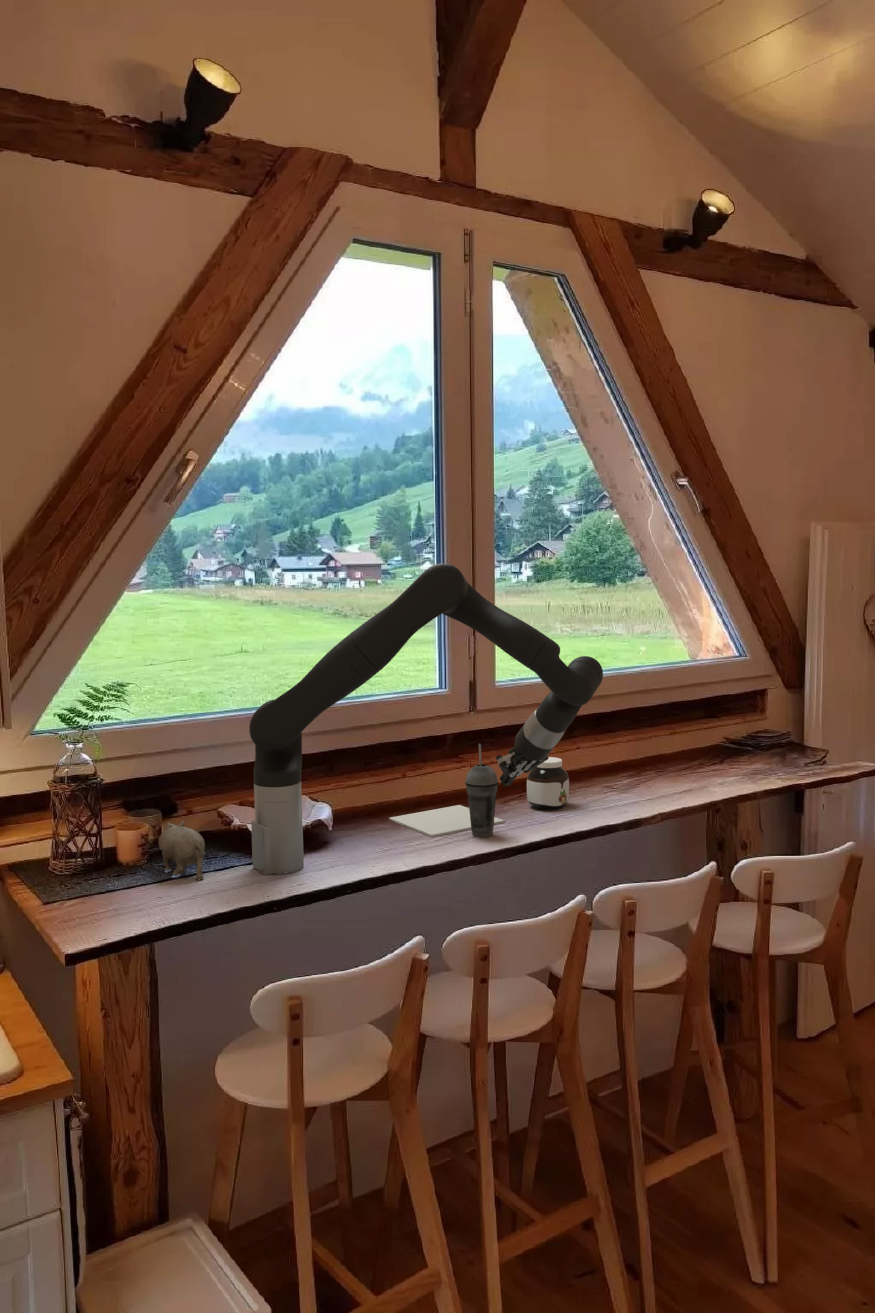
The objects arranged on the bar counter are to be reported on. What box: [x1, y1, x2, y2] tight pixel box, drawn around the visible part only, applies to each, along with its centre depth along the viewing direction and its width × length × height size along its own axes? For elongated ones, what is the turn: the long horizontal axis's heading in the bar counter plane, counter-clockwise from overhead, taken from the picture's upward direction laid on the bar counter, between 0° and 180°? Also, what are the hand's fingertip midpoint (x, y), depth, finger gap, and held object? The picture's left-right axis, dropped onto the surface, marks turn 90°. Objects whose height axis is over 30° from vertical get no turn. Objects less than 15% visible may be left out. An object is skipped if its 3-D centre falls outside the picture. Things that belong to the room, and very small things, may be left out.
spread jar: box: [526, 756, 570, 811], centre depth 245 cm, size 12×11×12 cm
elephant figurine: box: [158, 821, 206, 880], centre depth 197 cm, size 8×14×15 cm
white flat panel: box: [388, 804, 506, 838], centre depth 232 cm, size 20×18×1 cm
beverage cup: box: [464, 743, 499, 838], centre depth 219 cm, size 7×7×20 cm
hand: (504, 782), depth 212 cm, fingers closed
